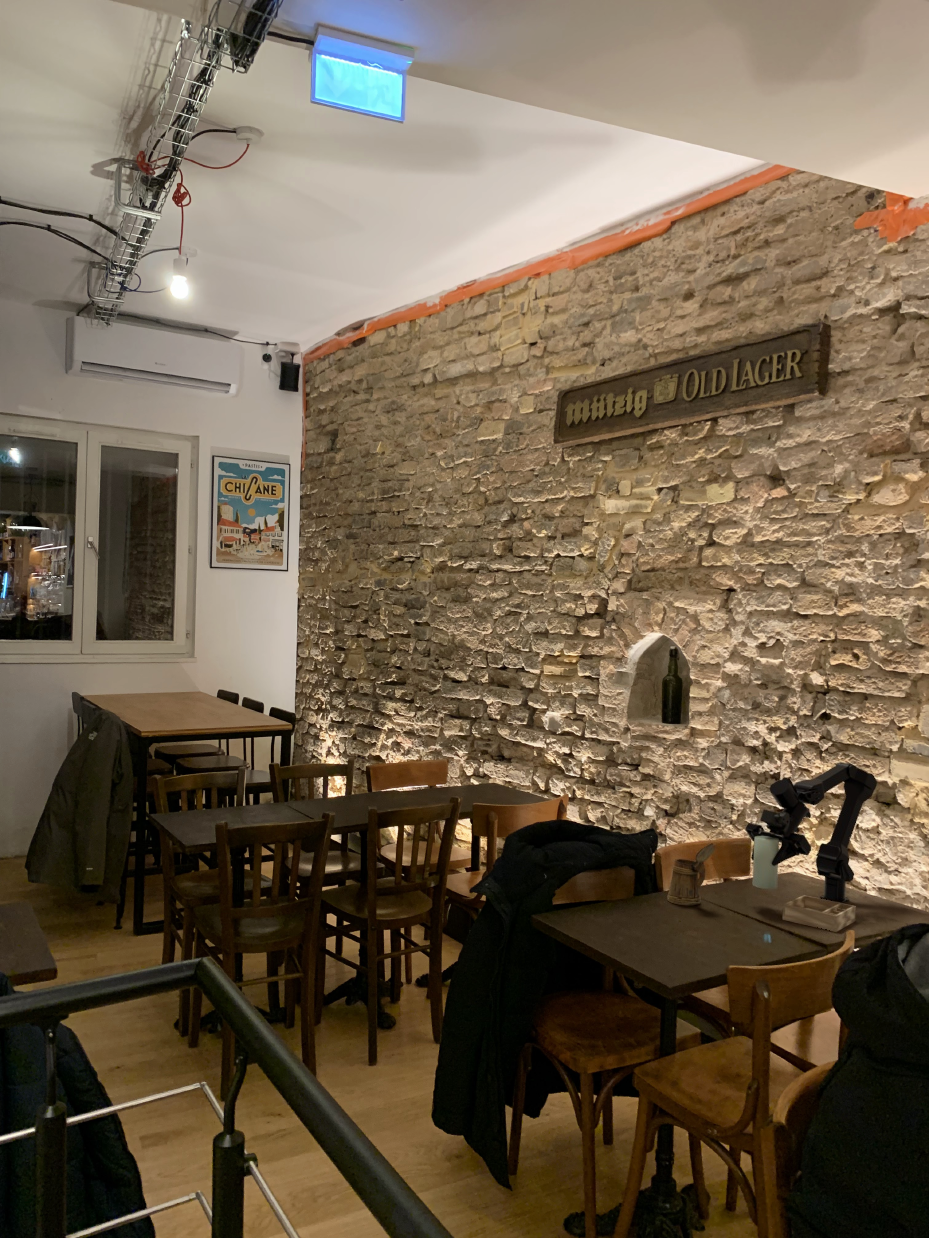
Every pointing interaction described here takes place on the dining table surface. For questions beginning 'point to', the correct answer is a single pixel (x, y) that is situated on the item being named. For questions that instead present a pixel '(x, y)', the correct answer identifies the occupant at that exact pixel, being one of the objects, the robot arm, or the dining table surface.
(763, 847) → the pale green cylinder
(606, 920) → the dining table surface
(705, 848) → the wooden mug
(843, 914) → the tray
